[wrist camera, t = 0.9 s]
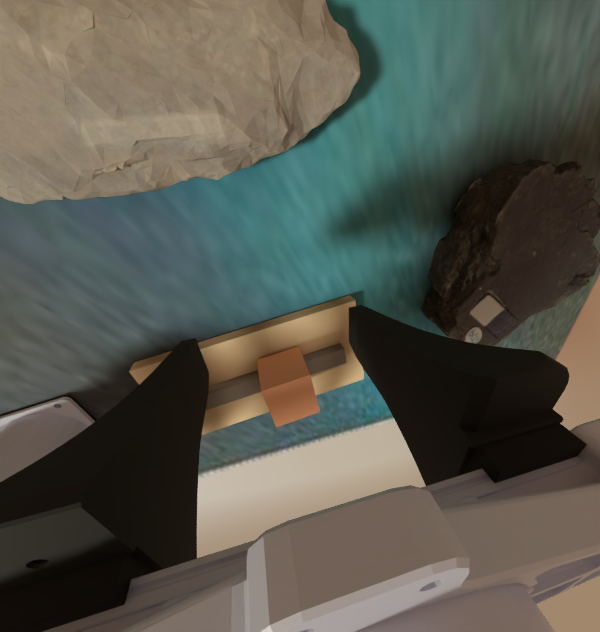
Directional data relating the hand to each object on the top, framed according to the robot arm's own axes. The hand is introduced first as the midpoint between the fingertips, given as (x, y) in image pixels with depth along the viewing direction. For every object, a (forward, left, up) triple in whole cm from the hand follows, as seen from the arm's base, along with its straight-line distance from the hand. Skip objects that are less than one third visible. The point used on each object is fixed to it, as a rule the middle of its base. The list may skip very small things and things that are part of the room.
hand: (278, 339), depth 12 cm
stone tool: (-4, +12, -10) cm, 17 cm away
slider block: (-1, -10, -8) cm, 13 cm away
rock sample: (+22, -6, -11) cm, 25 cm away
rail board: (-3, -10, -10) cm, 14 cm away
